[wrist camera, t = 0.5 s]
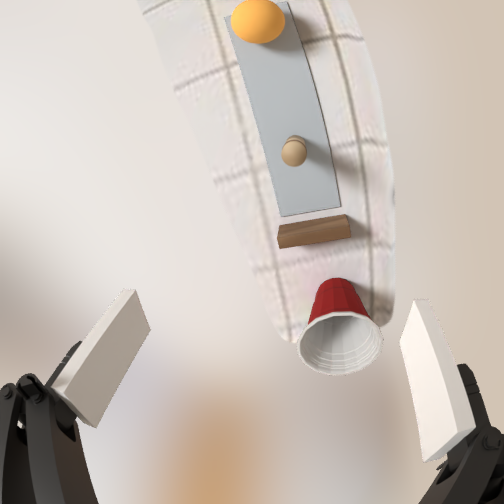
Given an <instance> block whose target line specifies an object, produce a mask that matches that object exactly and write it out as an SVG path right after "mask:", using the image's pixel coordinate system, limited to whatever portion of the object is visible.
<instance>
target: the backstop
mask: <svg viewBox="0 0 504 504" xmlns="http://www.w3.org/2000/svg"><path fill="white" fill-rule="evenodd" d="M350 237H351V233H350V226H349V223H348V220H347V218H346V215H345V214H343V215H337V216H331V217H325V218H319V219H314V220H308V221H302V222H296V223H291V224H285V225H280V226H279V231H278V236H277V240H278V244H279V248H280V249H282V248H289V247H295V246H301V245H307V244H313V243H319V242H325V241H332V240H338V239H344V238H350Z"/></svg>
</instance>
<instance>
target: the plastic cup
mask: <svg viewBox="0 0 504 504" xmlns="http://www.w3.org/2000/svg"><path fill="white" fill-rule="evenodd" d="M382 344H383V337H382V334H381V331H380V328H379V326H378V325H377V324H375V323H374V322H373V321H372V320H371V319H370V316H369V315H368V314H367V312H366V310H365V308H364V306H363V304H362V302H361V300H360V298H359V296H358V294H356V291H355V289H354V287H353V286H352V285H351V283H349V282H348V281H347V280H345V279H342V278H331V279H329V280H326V281H325V282H324V283H322V284H321V285H320V287H319V289H318V291H317V293H316V298H315V302H314V304H313V307H312V311H311V315H310V318H309V322H308V325H307V326H306V327H305V328H304V329H303V331H302V333H301V335H300V337H299V339H298V341H297V350H298V355H299V356H300V358H301V359H302V361H303V363H304V364H305V365H307V366H308V367H310V368H311V369H313V370H314V371H316V372H320V373H323V374H327V375H347V374H351V373H354V372H357V371H360V370H362V369H364V368H365V367H367V366H368V365H370V364H371V363H373V362H374V360H375V359H376V358H377V356H378V355H379V354H380V352H381V349H382Z"/></svg>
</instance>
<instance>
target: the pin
mask: <svg viewBox="0 0 504 504" xmlns="http://www.w3.org/2000/svg"><path fill="white" fill-rule="evenodd" d="M281 157H282V160H283V161H284V163H286V164H287V165H288V166H291V167H297V166H300V165H302V164H303V163H304V162H305V160H306V157H307V149H306V145H305V141H304V139H303V138H302V137H301V136H298V135H292V136H290V137H289V138H288V139H287V140H286V143H285V144H284V146H283V148H282V152H281Z"/></svg>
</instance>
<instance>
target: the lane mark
mask: <svg viewBox="0 0 504 504" xmlns="http://www.w3.org/2000/svg"><path fill="white" fill-rule="evenodd" d="M276 5H277V6H278V7H279V8H280V9H281V10H282V12H283V14H284V17H285V26H284V29H283V31H282V32H281V34H280V35H279V36H278V37H277V38H275V39H274V40H272V41H270V42H267V43H262V44H255V43H249V42H246V41H244V40H242V39H241V38H239V37H238V36H237V35H236V34H235V32H234V31H233V29H232V26H231V16H232V15H230V16H227V17H224V19H225V22H226V26H227V29H228V32H229V35H230V38H231V41H232V44H233V47H234V50H235V53H236V57H237V60H238V63H239V66H240V70H241V73H242V76H243V79H244V83H245V86H246V89H247V93H248V96H249V100H250V103H251V107H252V110H253V113H254V117H255V120H256V124H257V128H258V131H259V135H260V138H261V142H262V146H263V149H264V153H265V157H266V160H267V164H268V168H269V172H270V176H271V179H272V183H273V187H274V191H275V195H276V199H277V203H278V207H279V211H280V215H281V217H283V216H288V215H294V214H300V213H305V212H311V211H317V210H323V209H329V208H334V207H340V201H339V195H338V189H337V184H336V178H335V173H334V168H333V163H332V158H331V153H330V148H329V144H328V139H327V135H326V130H325V126H324V122H323V118H322V113H321V109H320V106H319V102H318V98H317V94H316V90H315V87H314V83H313V80H312V76H311V73H310V69H309V66H308V63H307V59H306V56H305V53H304V50H303V47H302V44H301V41H300V38H299V35H298V32H297V29H296V26H295V23H294V20H293V18H292V15H291V12H290V10H289V7H288V4H287V2H281V3H276ZM292 135H298V136H301V137H302V138H303V139H304V141H305V145H306V149H307V157H306V160H305V162H304V163H303V164H302V165H300V166H297V167H291V166H288V165H287V164H286V163H284V161H283V160H282V157H281V152H282V148H283V146H284V144H285V143H286V140H287V139H288V138H289V137H290V136H292Z"/></svg>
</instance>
